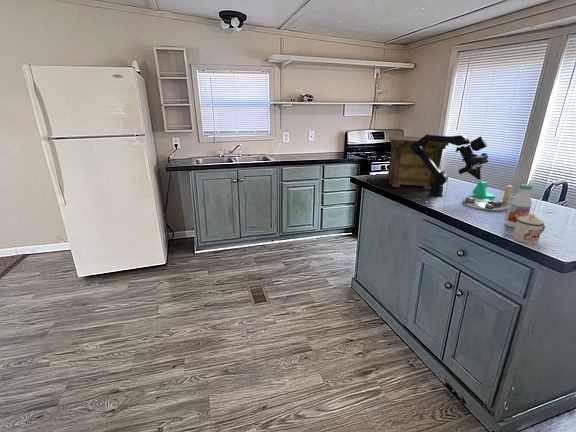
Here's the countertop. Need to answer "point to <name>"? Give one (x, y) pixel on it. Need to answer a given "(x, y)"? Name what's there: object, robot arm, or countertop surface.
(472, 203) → the plate
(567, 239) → the countertop surface
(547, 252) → the countertop surface
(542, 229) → the teacup with lid
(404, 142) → the crate
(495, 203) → the tan post with disc
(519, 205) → the milk bottle
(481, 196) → the camera mount
